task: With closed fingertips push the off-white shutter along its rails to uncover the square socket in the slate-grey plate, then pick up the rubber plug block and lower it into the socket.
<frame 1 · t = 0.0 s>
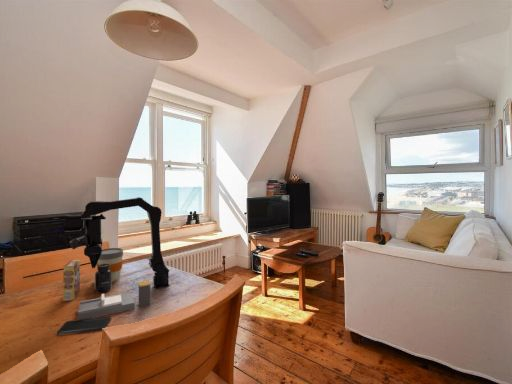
hand: (94, 264, 113), 15 cm above the table, fingers open, 9 cm apart
candy box: (72, 296, 114), on the table
supplement bottle: (103, 290, 121), on the table
phone: (85, 327, 91), on the table
socket plate: (103, 309, 103), on the table
shutter: (111, 298, 104), point 4 cm above the table, slide at 0.0 cm
reusable coffee cup: (110, 279, 134), on the table
plug: (144, 303, 108), on the table
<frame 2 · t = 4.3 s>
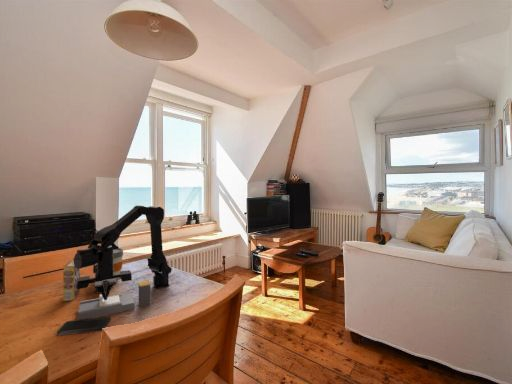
hand: (105, 299, 103), 4 cm above the table, fingers closed
shutter: (109, 298, 104), point 4 cm above the table, slide at 0.7 cm, touching gripper
everything else where it was.
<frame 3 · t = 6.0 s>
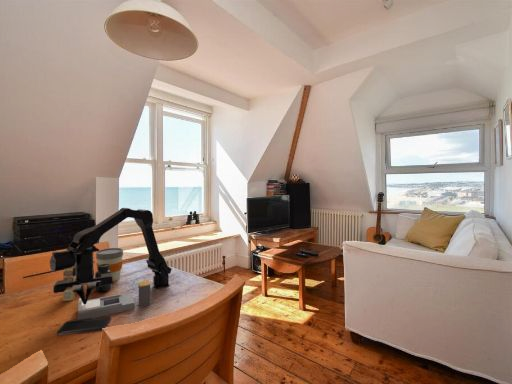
hand: (85, 303, 100), 4 cm above the table, fingers closed
shutter: (89, 302, 100), point 4 cm above the table, slide at 7.6 cm, touching gripper
everything else where it was.
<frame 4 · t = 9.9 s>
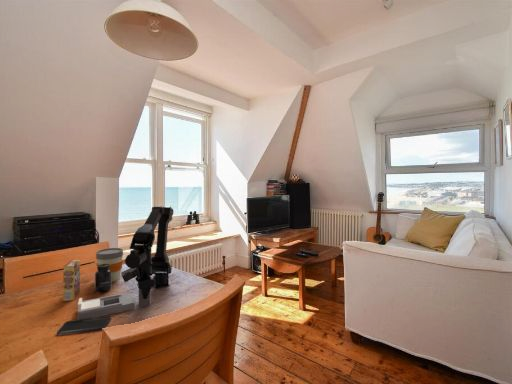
hand: (144, 296, 108), 3 cm above the table, fingers closed on plug, 4 cm apart
shutter: (89, 302, 100), point 4 cm above the table, slide at 7.6 cm
plug: (144, 303, 108), on the table, touching gripper
everything else where it was.
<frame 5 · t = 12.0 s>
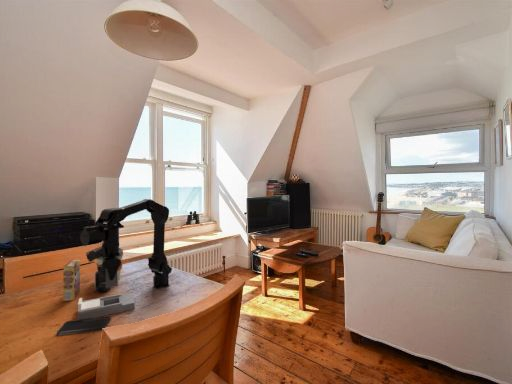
hand: (111, 278, 104), 12 cm above the table, fingers closed on plug, 4 cm apart
plug: (111, 285, 104), point 9 cm above the table, touching gripper
everything else where it was.
when the fingers open (4 cm above the table, at t = 14.1 s): plug stays where it is, resting in socket plate.
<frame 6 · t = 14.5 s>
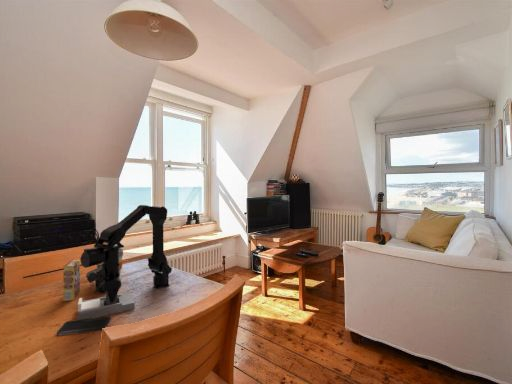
hand: (111, 298, 104), 4 cm above the table, fingers open, 8 cm apart
plug: (111, 307, 104), resting in socket plate
everything else where it was.
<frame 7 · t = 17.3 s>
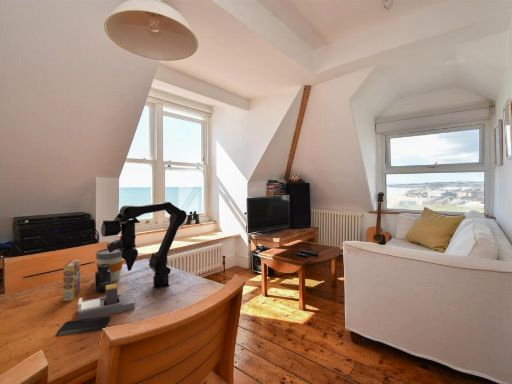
hand: (128, 267, 116), 13 cm above the table, fingers open, 9 cm apart
nothing on the table moved.
at the end: shutter slide at 7.6 cm; plug 0.0 cm from the target spot on the socket plate, point 0.0 cm above the socket plate's base; plug tilted 0° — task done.
